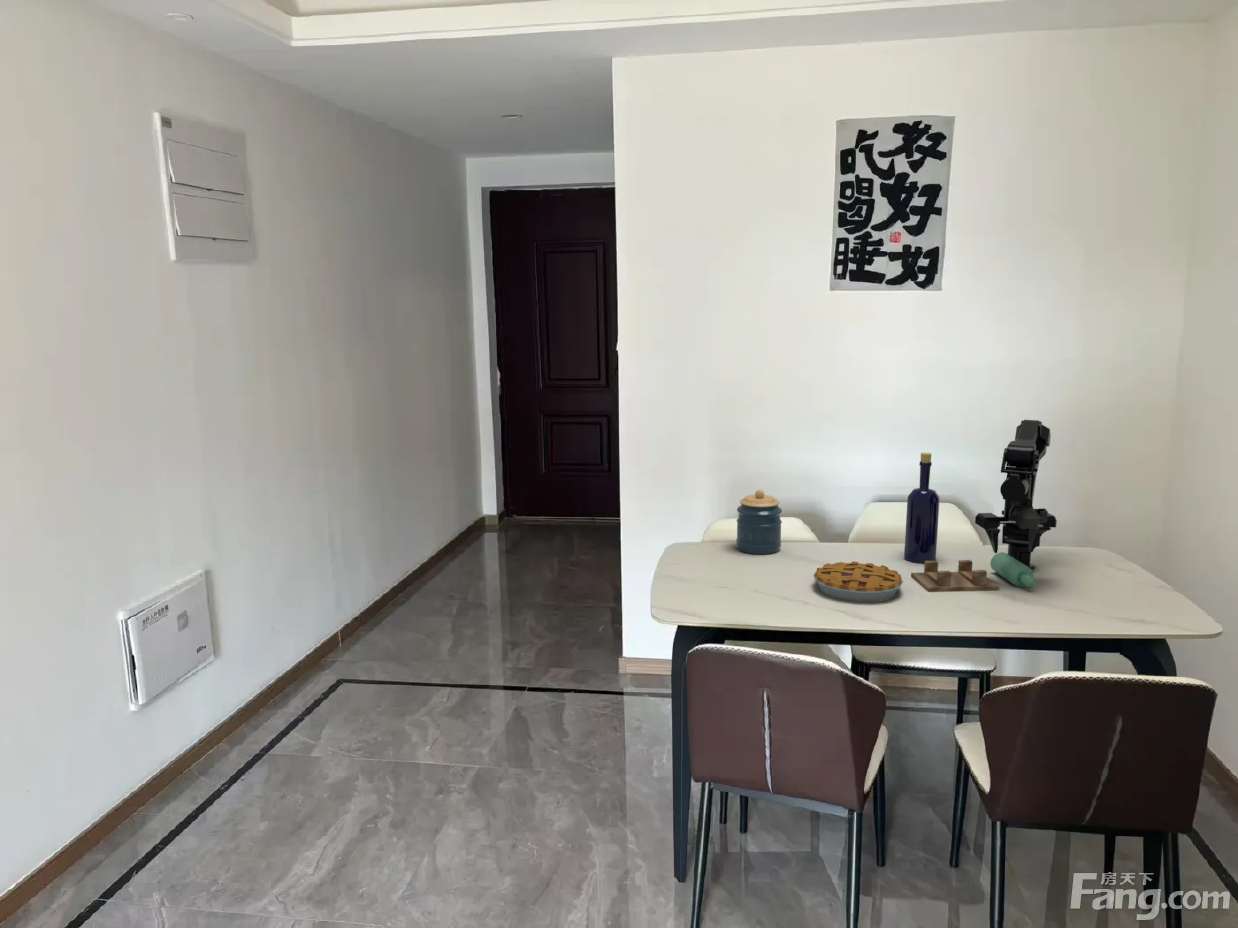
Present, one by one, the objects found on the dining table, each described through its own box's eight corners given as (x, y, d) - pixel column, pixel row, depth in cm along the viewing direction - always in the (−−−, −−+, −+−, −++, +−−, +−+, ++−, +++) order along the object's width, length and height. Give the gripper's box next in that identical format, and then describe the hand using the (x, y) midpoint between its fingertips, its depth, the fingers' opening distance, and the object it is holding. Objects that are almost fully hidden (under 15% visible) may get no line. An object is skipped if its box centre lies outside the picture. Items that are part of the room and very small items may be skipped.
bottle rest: (928, 591, 221) (929, 574, 220) (911, 576, 233) (912, 559, 232) (999, 589, 222) (1000, 572, 221) (978, 574, 234) (979, 558, 233)
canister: (787, 546, 261) (789, 488, 258) (770, 557, 250) (772, 496, 247) (747, 540, 268) (748, 483, 265) (728, 551, 257) (729, 491, 254)
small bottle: (989, 571, 236) (992, 551, 235) (1009, 573, 236) (1012, 553, 235) (1017, 592, 220) (1021, 570, 219) (1039, 593, 220) (1043, 571, 219)
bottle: (942, 563, 243) (948, 456, 238) (908, 563, 244) (914, 456, 238) (931, 554, 252) (937, 450, 247) (898, 554, 253) (904, 450, 247)
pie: (901, 579, 231) (902, 561, 230) (904, 608, 210) (905, 588, 209) (815, 573, 237) (816, 555, 236) (810, 600, 216) (810, 581, 215)
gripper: (995, 501, 217) (991, 562, 220) (1070, 500, 217) (1065, 561, 220) (976, 491, 228) (972, 549, 231) (1047, 490, 228) (1042, 548, 231)
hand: (1013, 552), depth 228 cm, fingers open, 9 cm apart
